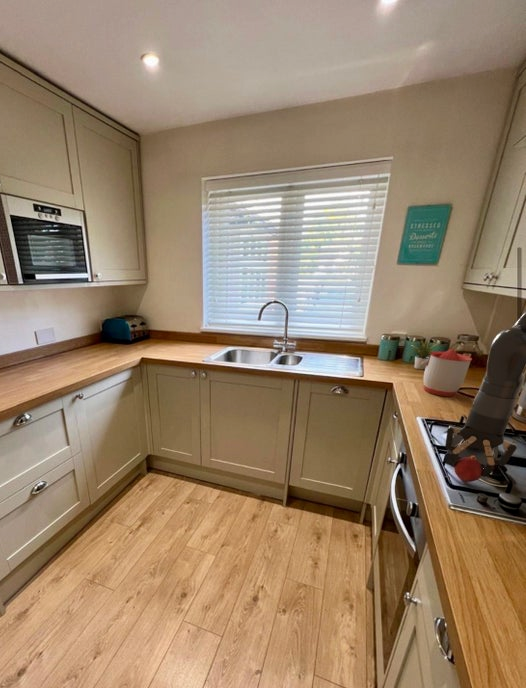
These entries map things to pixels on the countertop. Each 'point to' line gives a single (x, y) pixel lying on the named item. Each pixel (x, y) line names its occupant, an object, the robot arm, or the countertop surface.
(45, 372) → the countertop surface
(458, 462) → the onion
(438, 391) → the citrus juicer
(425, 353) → the house plant
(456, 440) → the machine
